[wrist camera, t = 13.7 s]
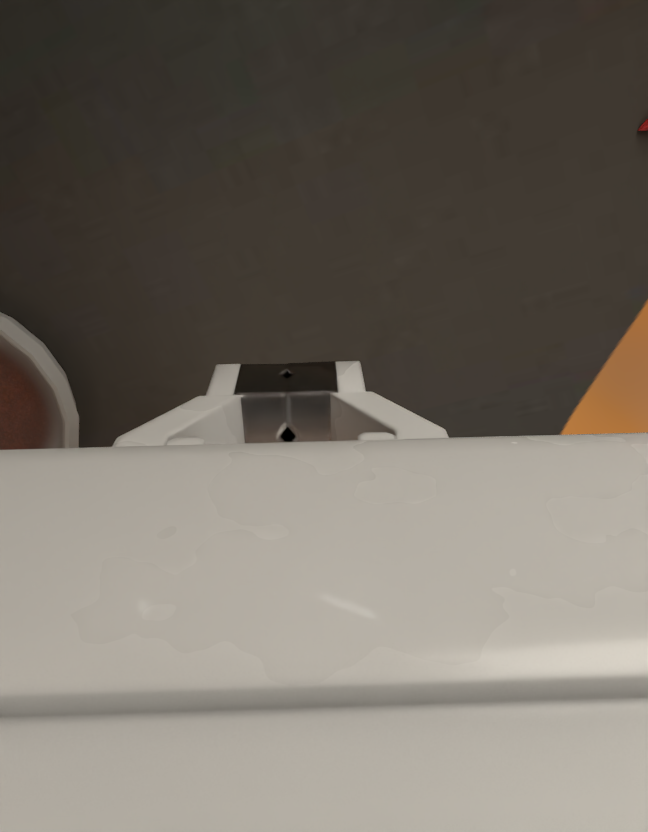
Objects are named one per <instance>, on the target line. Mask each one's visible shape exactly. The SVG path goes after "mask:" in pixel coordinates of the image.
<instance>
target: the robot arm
mask: <svg viewBox="0 0 648 832" xmlns="http://www.w3.org/2000/svg"><path fill="white" fill-rule="evenodd" d="M0 832H648V433H616V434H581V435H580V434H577V435H539V436H501V437H462V438H449V437H448V435H447V432H446V430H445V429H443V428H441V427H440V426H438V425H436V424H434V423H432V422H430V421H428V420H426V419H424V418H422V417H420V416H418V415H416V414H414V413H412V412H410V411H408V410H406V409H405V408H403V407H401V406H399V405H397V404H395V403H393V402H391V401H389V400H387V399H385V398H383V397H381V396H379V395H377V394H375V393H373V392H366V391H365V385H364V380H363V375H362V370H361V365H360V362H359V361H345V362H335V361H331V362H309V363H288V364H222V365H216V366H215V369H214V372H213V375H212V378H211V381H210V384H209V387H208V390H207V393H206V396H198V397H196V398H194V399H192V400H190V401H188V402H186V403H184V404H182V405H180V406H178V407H176V408H174V409H173V410H171V411H169V412H167V413H165V414H163V415H161V416H159V417H157V418H155V419H153V420H151V421H149V422H147V423H145V424H143V425H141V426H139V427H137V428H135V429H133V430H131V431H129V432H127V433H125V434H123V435H121V436H119V437H117V439H116V440H115V442H114V444H113V446H112V447H90V448H53V449H15V450H0Z"/></svg>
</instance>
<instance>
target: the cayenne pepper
mask: <svg viewBox="0 0 648 832" xmlns="http://www.w3.org/2000/svg"><path fill="white" fill-rule="evenodd" d="M638 130H639V131H646V130H648V119H647V120H646V121H645V122H644V123H643V124H642V125H641V126H640V128H639V129H638Z"/></svg>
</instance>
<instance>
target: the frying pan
mask: <svg viewBox="0 0 648 832" xmlns="http://www.w3.org/2000/svg"><path fill="white" fill-rule="evenodd" d="M78 447H79V415H78V413H77V410H76V402H75V399H74V396H73V394H72V391H71V388H70V385H69V382H68V379H67V376H66V373H65V372H64V370H63V369H62V368H61V366H60V365H59V364H58V362H57V361H56V359H55V358H54V357H53V355H52V354H51V352H50V351H49V350H48V348H47V347H46V346H45V344H44V343H43V342H42V341H40V340H39V339H38V338H37V337H36V336H34V335H33V334H32V333H31V332H29V331H28V330H27V329H26V328H25V327H23V326H22V325H21V324H20V323H18V322H17V321H16V320H15V319H14V318H12V317H10V316H8V315H5V314H3V313H1V312H0V450H15V449H53V448H78Z"/></svg>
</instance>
